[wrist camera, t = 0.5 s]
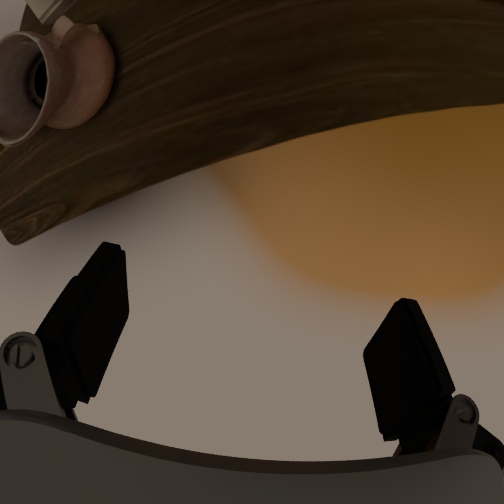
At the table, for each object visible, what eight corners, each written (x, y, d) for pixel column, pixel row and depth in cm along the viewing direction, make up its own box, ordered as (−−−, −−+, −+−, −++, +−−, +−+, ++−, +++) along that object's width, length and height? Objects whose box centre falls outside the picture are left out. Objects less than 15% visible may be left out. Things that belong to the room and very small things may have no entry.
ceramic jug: (86, 0, 24) (15, -11, 12) (152, 55, 30) (90, 55, 18) (21, 99, 32) (-46, 124, 20) (76, 154, 37) (12, 196, 25)
